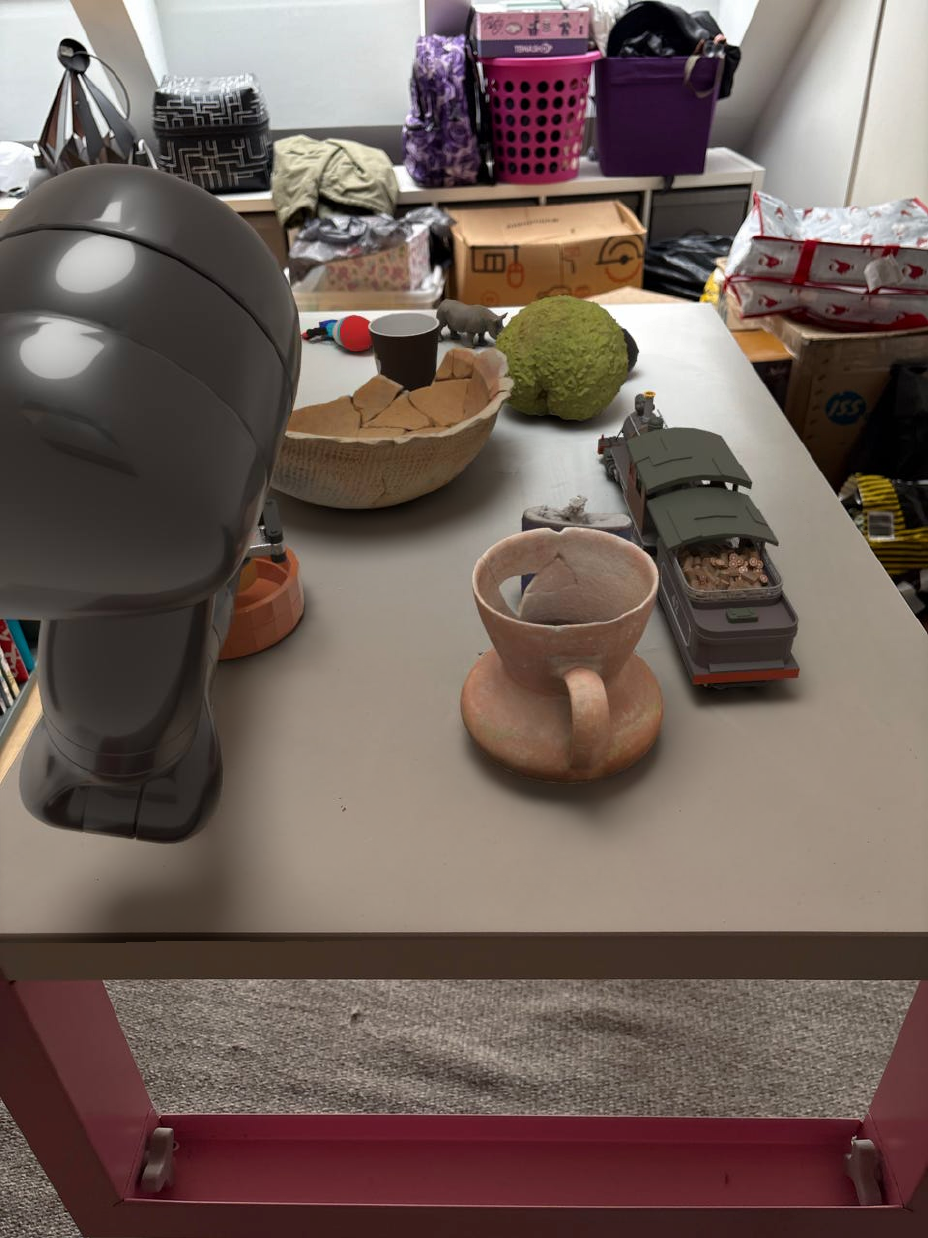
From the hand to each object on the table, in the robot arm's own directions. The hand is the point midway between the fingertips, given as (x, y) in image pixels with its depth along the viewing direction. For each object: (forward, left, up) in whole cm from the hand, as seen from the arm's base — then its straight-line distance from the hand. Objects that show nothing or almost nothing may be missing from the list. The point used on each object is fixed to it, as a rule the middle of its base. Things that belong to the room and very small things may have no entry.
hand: (212, 491), depth 80 cm
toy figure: (+8, +66, -11) cm, 67 cm away
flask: (+30, -4, -11) cm, 32 cm away
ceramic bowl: (+13, +21, -11) cm, 27 cm away
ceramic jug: (+26, -21, -11) cm, 35 cm away
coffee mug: (+17, +44, -11) cm, 49 cm away
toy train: (+41, +4, -11) cm, 42 cm away
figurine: (+43, +53, -11) cm, 69 cm away
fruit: (+35, +37, -11) cm, 52 cm away
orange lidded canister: (0, -3, -7) cm, 8 cm away
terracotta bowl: (0, -2, -11) cm, 11 cm away
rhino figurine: (+27, +62, -11) cm, 68 cm away
